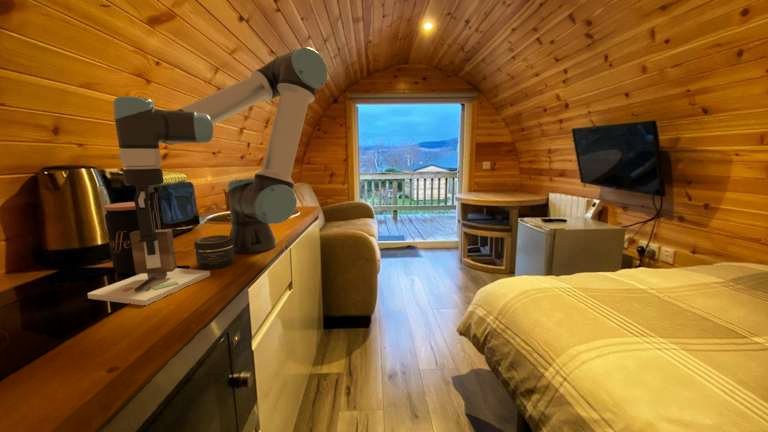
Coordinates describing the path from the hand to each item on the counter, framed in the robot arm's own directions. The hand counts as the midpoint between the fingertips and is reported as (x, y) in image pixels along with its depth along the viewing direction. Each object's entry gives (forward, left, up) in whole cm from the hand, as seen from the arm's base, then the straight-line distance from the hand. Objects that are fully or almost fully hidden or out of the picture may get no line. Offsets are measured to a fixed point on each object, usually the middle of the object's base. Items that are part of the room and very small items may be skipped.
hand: (155, 264), depth 81 cm
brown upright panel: (+3, +1, -3) cm, 5 cm away
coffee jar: (-8, -16, -5) cm, 19 cm away
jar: (-15, +4, -5) cm, 16 cm away
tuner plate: (+2, +1, -5) cm, 5 cm away
